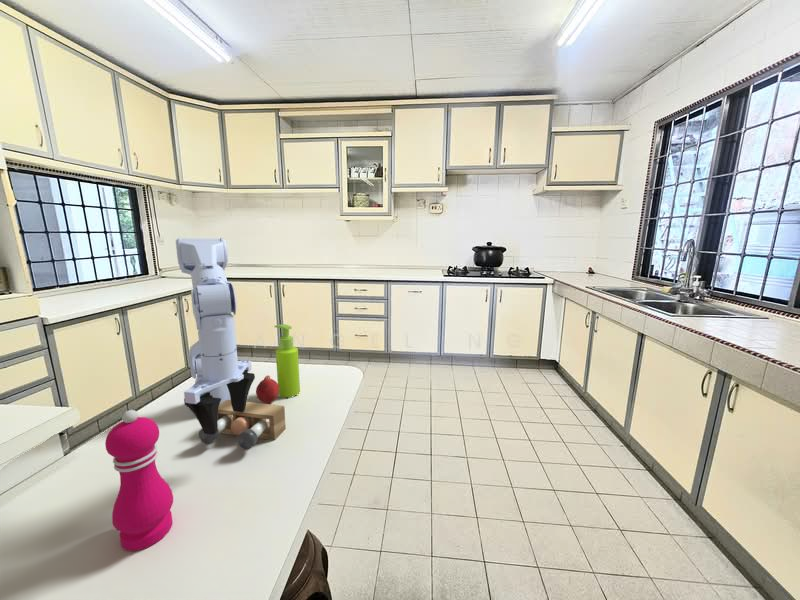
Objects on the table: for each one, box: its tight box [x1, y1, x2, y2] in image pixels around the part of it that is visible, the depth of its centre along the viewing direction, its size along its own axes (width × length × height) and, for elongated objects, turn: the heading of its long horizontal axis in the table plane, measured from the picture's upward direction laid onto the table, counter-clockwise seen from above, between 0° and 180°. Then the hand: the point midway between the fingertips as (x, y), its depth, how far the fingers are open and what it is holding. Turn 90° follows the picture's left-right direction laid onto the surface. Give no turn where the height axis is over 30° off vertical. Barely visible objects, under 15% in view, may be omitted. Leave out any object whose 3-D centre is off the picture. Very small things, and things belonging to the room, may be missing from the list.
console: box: [217, 400, 287, 441], centre depth 77 cm, size 15×4×6 cm, turn 79°
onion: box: [255, 374, 280, 404], centre depth 89 cm, size 6×6×8 cm
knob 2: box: [236, 420, 268, 450], centre depth 71 cm, size 4×6×4 cm, turn 169°
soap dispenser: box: [274, 323, 301, 398], centre depth 94 cm, size 6×7×20 cm
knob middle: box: [231, 416, 251, 436], centre depth 76 cm, size 4×6×4 cm, turn 169°
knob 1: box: [198, 416, 231, 445], centre depth 73 cm, size 4×6×4 cm, turn 169°
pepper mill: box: [104, 409, 174, 552], centre depth 49 cm, size 7×7×20 cm
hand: (225, 421), depth 62 cm, fingers open, 7 cm apart
